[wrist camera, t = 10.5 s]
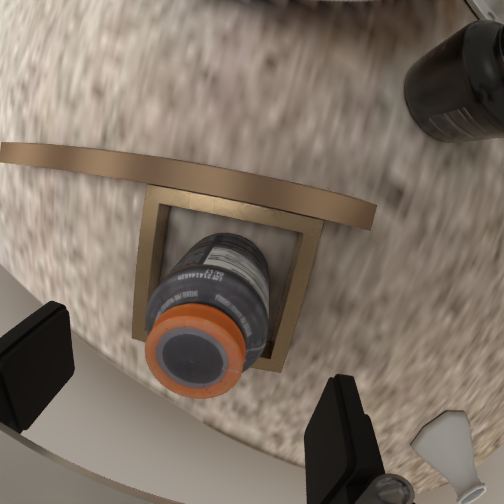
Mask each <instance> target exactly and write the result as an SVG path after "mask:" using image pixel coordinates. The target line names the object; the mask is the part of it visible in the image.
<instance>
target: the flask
mask: <svg viewBox="0 0 504 504" xmlns="http://www.w3.org/2000/svg"><path fill="white" fill-rule="evenodd" d="M410 446H411V447H412V448H413V449H414V451H415V452H416V453H417V454H418V455H419V456H420V457H421V458H422V459H423V460H424V461H426V462H427V463H428V464H429V465H431V466H432V467H433V468H434V469H436V470H437V471H438V472H439V473H440V474H441V475H442V476H444V477H445V478H446V479H447V480H448V481H449V482H450V484H451V485H452V486H453V488H454V489H455V491H456V493H457V496H458V499H457V504H470V503H472V502H473V501H475V500H476V499H477V498H479V497H480V496H481V495H482V494H483V493H484V492H485V491H486V490H487V487H486V485H485V484H484V483H481V482H480V480H479V478H478V475H477V471H476V468H475V464H474V456H473V447H472V437H471V428H470V422H469V420H468V418H467V416H466V414H465V412H457V411H446V412H445V413H443V414H442V415H441V416H439V417H438V418H436V419H435V420H434V421H432V422H431V423H429V424H428V425H426V426H425V427H423V429H422V430H421V432H420V433H419V434H418V436H417V437H416V438H415V440H414V441H413V443H412V444H411V445H410Z"/></svg>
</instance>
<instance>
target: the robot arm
mask: <svg viewBox="0 0 504 504" xmlns="http://www.w3.org/2000/svg"><path fill="white" fill-rule="evenodd" d="M466 1H467V2H468V4H469V5H470V7H471V8H472V10H473V11H474V12H475V13H476V15H477V16H478V17H479V18H480V20H492V21H496V22H499V23H502V24H504V0H466ZM74 370H75V366H74V359H73V350H72V340H71V329H70V316H69V312H68V311H67V309H66V306H65V305H63V304H60V303H57V302H55V301H49V302H48V303H47V304H45V305H44V306H42V307H41V308H40V309H38V310H37V311H35V312H34V313H33V314H31V315H30V316H29V317H27V318H26V319H24V320H23V321H22V322H21V323H19V324H18V325H16V326H15V327H14V328H12V329H11V330H10V331H8V332H7V333H6V334H5V335H3V336H2V337H1V338H0V504H184V503H180V502H176V501H173V500H169V499H166V498H163V497H159V496H156V495H153V494H150V493H146V492H143V491H140V490H137V489H135V488H131V487H129V486H126V485H124V484H121V483H118V482H116V481H113V480H111V479H108V478H105V477H103V476H101V475H98V474H96V473H93V472H91V471H89V470H87V469H85V468H82V467H80V466H78V465H76V464H74V463H71V462H69V461H67V460H66V459H63V458H61V457H60V456H58V455H56V454H53V453H52V452H50V451H48V450H46V449H44V448H43V447H41V446H39V445H37V444H35V443H34V442H32V441H30V440H28V439H27V438H25V437H23V436H22V435H20V434H21V432H22V431H23V430H27V429H28V428H29V427H30V426H31V425H32V424H33V422H34V421H35V420H36V418H37V417H38V416H39V415H40V414H41V413H42V411H43V410H44V409H45V408H46V407H47V405H48V404H49V403H50V402H51V401H52V399H53V398H54V397H55V395H57V393H58V392H59V391H60V390H61V389H62V387H63V386H64V385H65V384H66V383H67V382H68V380H69V379H70V378H71V377H72V376H73V374H74ZM304 447H305V468H306V492H307V504H415V503H414V502H413V500H414V498H415V497H414V496H415V495H414V489H413V487H412V485H411V484H410V483H409V481H408V480H406V479H405V478H403V477H402V476H399V475H397V474H390V473H389V474H385V470H384V466H383V462H382V459H381V455H380V451H379V448H378V444H377V440H376V437H375V433H374V430H373V426H372V423H371V419H370V417H369V416H368V415H367V414H364V411H363V407H362V404H361V400H360V397H359V393H358V390H357V386H356V383H355V380H354V377H353V376H350V375H342V374H336V375H335V377H334V378H333V377H330V378H329V379H328V382H327V384H326V386H325V388H324V391H323V393H322V395H321V398H320V400H319V402H318V404H317V406H316V409H315V411H314V413H313V415H312V417H311V419H310V421H309V423H308V426H307V428H306V430H305V434H304Z"/></svg>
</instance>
